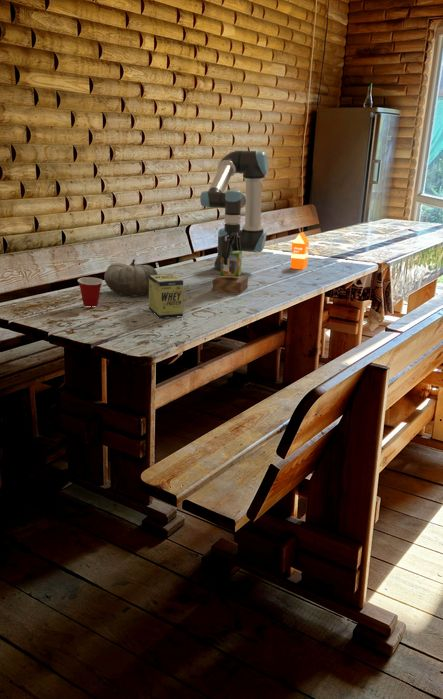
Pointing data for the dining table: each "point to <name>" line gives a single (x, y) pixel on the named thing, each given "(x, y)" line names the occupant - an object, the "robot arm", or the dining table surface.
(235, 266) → the chalk box
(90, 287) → the plastic cup
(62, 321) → the dining table surface
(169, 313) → the protein box
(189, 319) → the dining table surface
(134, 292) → the gourd
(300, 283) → the dining table surface
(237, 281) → the walnut block
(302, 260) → the orange juice
